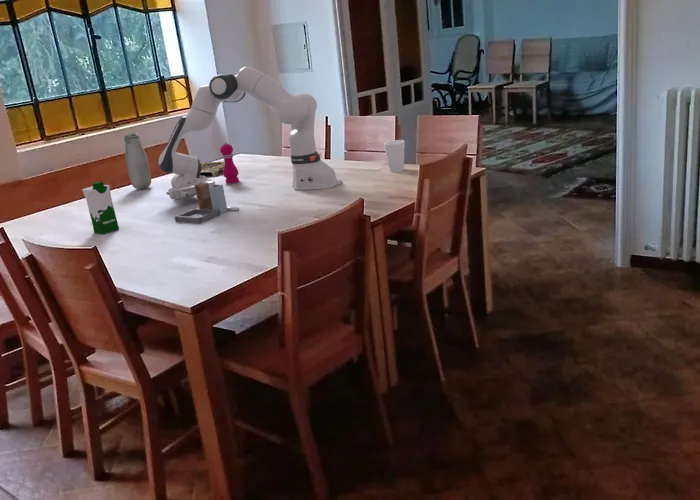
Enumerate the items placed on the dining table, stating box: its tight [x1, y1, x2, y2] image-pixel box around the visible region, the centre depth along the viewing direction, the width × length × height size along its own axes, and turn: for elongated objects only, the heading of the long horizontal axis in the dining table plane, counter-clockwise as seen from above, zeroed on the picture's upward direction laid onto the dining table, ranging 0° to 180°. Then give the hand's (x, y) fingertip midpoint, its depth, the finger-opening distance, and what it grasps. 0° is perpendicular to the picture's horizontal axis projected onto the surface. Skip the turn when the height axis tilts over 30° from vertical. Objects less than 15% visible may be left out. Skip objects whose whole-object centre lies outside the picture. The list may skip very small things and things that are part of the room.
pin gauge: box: [227, 206, 240, 212], centre depth 280 cm, size 10×2×2 cm
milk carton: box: [81, 180, 120, 235], centre depth 271 cm, size 9×9×20 cm
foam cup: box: [383, 139, 406, 173], centre depth 309 cm, size 10×9×13 cm
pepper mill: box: [219, 140, 240, 185], centre depth 329 cm, size 7×7×20 cm
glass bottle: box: [123, 132, 152, 190], centre depth 340 cm, size 10×10×28 cm
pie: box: [199, 160, 225, 178], centre depth 362 cm, size 28×27×5 cm
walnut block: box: [195, 183, 213, 210], centre depth 285 cm, size 4×4×11 cm
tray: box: [174, 207, 221, 224], centre depth 274 cm, size 14×11×2 cm
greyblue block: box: [209, 184, 229, 215], centre depth 278 cm, size 4×4×11 cm
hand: (197, 192), depth 293 cm, fingers open, 8 cm apart
